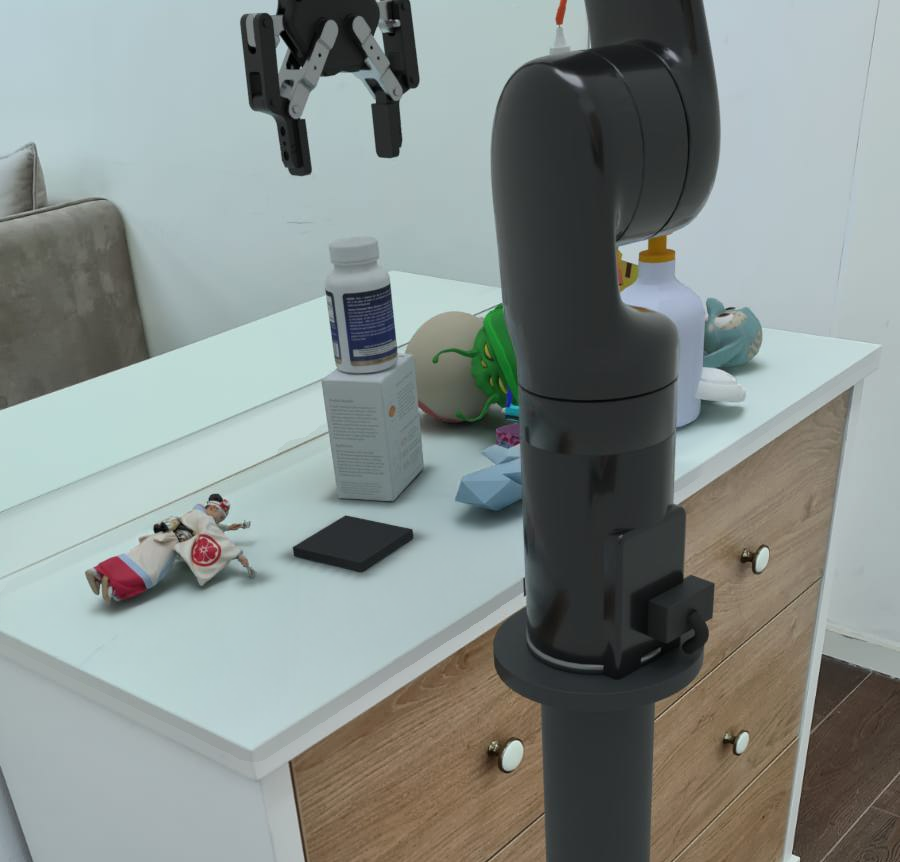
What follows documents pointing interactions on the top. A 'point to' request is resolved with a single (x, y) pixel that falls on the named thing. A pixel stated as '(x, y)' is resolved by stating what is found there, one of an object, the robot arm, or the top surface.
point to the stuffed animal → (730, 335)
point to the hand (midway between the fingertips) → (345, 165)
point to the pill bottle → (360, 307)
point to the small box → (374, 430)
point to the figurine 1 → (172, 552)
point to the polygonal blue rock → (494, 480)
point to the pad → (353, 543)
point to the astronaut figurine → (719, 386)
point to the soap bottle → (673, 317)
